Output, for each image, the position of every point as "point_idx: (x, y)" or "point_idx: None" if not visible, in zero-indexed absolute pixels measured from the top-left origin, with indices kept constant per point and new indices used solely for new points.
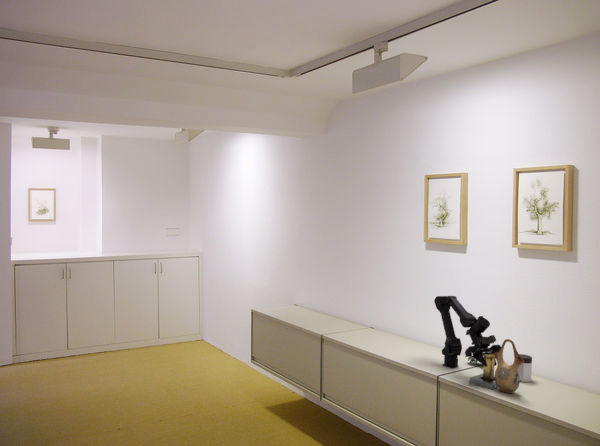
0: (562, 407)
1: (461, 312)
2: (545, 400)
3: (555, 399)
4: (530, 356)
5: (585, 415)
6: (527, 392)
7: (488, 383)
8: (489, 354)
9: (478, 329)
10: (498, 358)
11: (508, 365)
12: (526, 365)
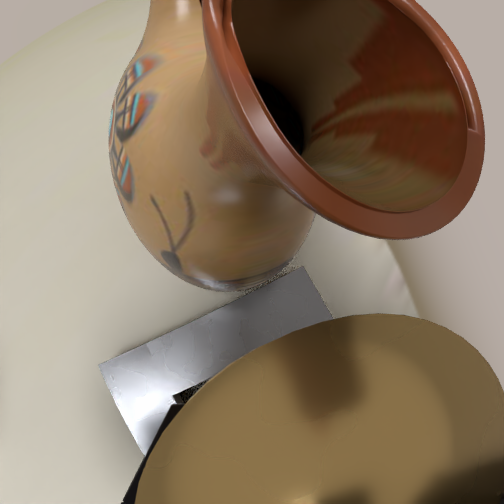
0: (108, 41)
1: None
2: (98, 90)
3: (44, 101)
4: None
5: (108, 8)
6: (77, 191)
7: (321, 301)
8: (392, 488)
9: None
10: (334, 69)
11: (204, 48)
12: None
